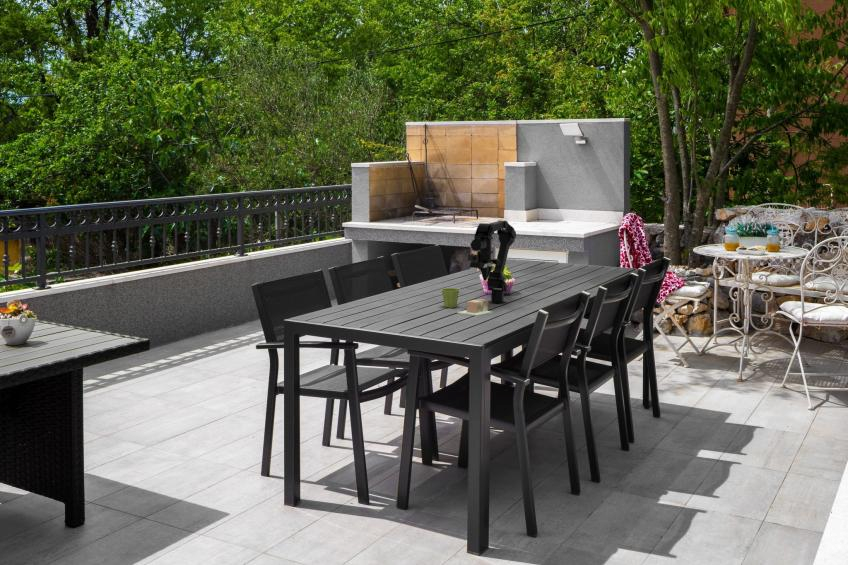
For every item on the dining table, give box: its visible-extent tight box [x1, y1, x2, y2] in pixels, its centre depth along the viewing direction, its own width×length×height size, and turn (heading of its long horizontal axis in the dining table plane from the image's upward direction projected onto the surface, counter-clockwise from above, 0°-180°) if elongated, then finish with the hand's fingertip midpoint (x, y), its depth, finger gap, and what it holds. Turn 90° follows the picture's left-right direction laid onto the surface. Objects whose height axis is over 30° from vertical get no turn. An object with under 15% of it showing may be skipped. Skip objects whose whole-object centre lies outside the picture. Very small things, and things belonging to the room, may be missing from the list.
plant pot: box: [440, 287, 461, 309], centre depth 465 cm, size 9×9×9 cm
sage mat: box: [456, 309, 493, 317], centre depth 449 cm, size 12×12×1 cm
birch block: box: [466, 298, 489, 313], centre depth 451 cm, size 5×5×10 cm
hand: (485, 280), depth 464 cm, fingers closed
